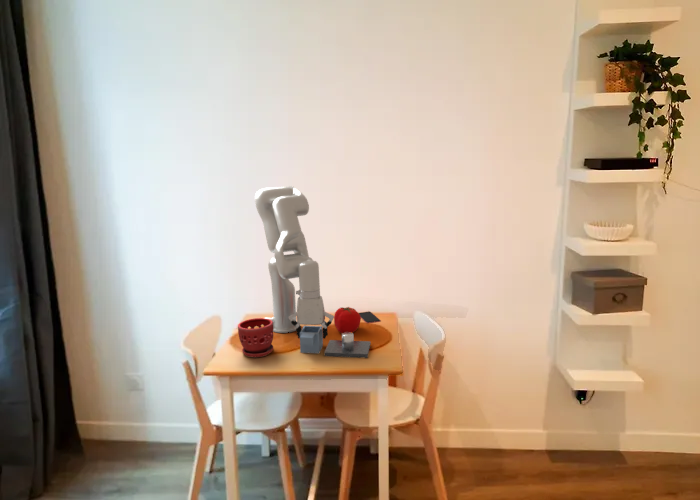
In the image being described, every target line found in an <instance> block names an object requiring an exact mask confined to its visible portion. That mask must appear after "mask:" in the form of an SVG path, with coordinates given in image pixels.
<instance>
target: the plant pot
mask: <svg viewBox="0 0 700 500" xmlns="http://www.w3.org/2000/svg"><path fill="white" fill-rule="evenodd" d="M266 318H267V317H257V318H249V319H245V320H243V321H241V322H239V323H238V324H237V332H238V338H239V342H240V344H241V346H242V351H241V352H242V354H243V356H247V357H248V358H249V357H250V358H261V357H265V356H268V355H269V354H271V353H272V352H273V350H274V345H273V344H272V343H273V340H274V331H273V329H274V328H273V321H272V320H270V319H266ZM262 325H263V327H262ZM255 327H256V328H255Z"/></svg>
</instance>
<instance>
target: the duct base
mask: <svg viewBox="0 0 700 500" xmlns="http://www.w3.org/2000/svg"><path fill="white" fill-rule="evenodd" d="M354 338H355V337H354V332H352V333H351V332H345V333H341V339H329V341H328V343H327V345H326V348H325V349H324V352H323V353H324V355H323V356H324V357H328V358H329V357H333V358H335V357H336V358H359V359H368V358H369V353H370V350H369V349H370V348H371V346H370V345H371V344H372V343H371V341H368V340H367V341H366V340H355V339H354Z"/></svg>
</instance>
